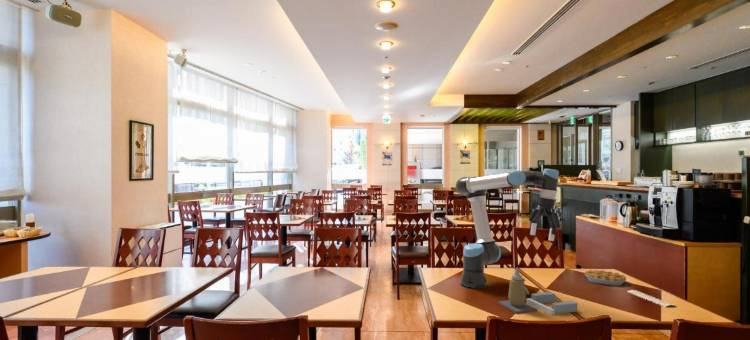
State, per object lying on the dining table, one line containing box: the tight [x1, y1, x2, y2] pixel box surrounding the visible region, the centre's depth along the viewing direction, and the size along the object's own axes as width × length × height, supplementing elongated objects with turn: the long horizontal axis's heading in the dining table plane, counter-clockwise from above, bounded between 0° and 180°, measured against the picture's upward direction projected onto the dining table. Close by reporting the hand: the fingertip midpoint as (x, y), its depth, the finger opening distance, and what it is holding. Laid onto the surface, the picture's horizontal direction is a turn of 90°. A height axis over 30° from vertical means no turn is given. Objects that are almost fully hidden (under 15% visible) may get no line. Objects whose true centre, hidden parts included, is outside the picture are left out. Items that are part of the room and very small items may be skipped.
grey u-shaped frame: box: [525, 291, 578, 316], centre depth 179 cm, size 17×15×4 cm
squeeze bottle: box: [507, 267, 527, 307], centre depth 178 cm, size 8×8×18 cm
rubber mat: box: [497, 299, 539, 315], centre depth 178 cm, size 14×12×1 cm
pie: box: [584, 269, 627, 286], centre depth 224 cm, size 22×22×5 cm
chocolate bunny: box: [522, 276, 530, 297], centre depth 198 cm, size 6×8×10 cm
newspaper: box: [627, 289, 676, 308], centre depth 191 cm, size 24×7×2 cm, turn 6°
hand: (541, 237), depth 193 cm, fingers open, 13 cm apart
